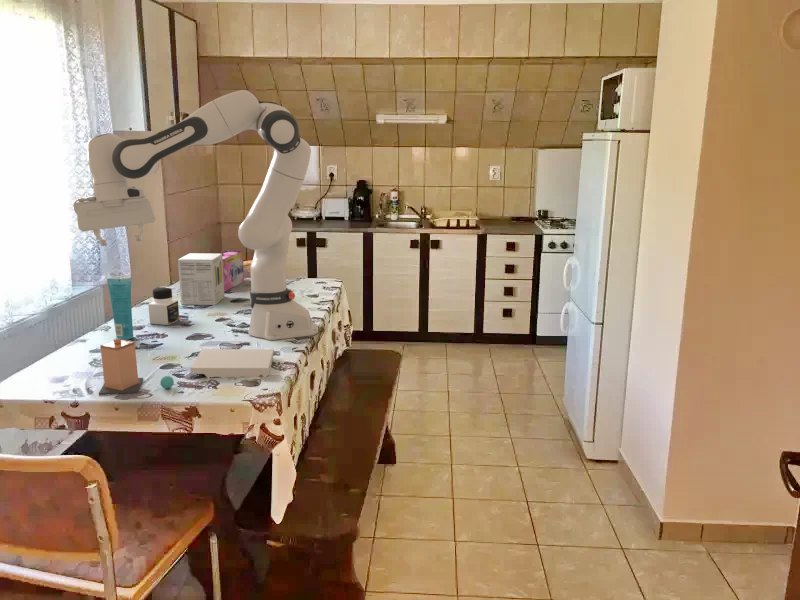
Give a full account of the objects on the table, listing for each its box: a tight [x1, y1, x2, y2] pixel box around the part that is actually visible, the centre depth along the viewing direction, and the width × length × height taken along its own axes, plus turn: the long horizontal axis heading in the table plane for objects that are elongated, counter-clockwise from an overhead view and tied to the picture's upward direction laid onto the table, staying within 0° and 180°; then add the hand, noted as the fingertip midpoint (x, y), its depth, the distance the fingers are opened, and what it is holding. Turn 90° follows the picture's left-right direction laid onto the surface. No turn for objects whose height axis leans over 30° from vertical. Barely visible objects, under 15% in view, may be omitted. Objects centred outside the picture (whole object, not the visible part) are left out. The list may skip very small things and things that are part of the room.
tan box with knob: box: [99, 338, 139, 390], centre depth 166 cm, size 6×6×12 cm
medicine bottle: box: [147, 286, 180, 326], centre depth 224 cm, size 7×7×12 cm
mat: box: [98, 377, 144, 396], centre depth 167 cm, size 9×9×1 cm
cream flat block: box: [190, 348, 274, 378], centre depth 182 cm, size 15×3×20 cm
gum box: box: [218, 249, 245, 293], centre depth 276 cm, size 24×8×14 cm, turn 170°
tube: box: [106, 278, 134, 341], centre depth 205 cm, size 7×5×19 cm, turn 96°
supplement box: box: [177, 252, 226, 306], centre depth 252 cm, size 13×13×18 cm
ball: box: [160, 375, 175, 390], centre depth 167 cm, size 3×3×3 cm
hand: (121, 243), depth 186 cm, fingers open, 8 cm apart
